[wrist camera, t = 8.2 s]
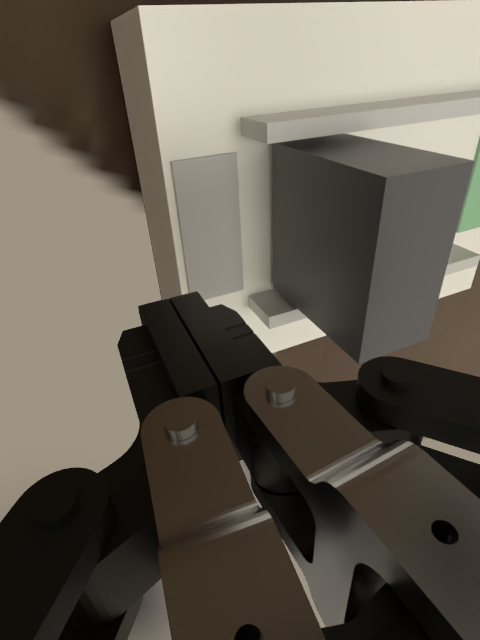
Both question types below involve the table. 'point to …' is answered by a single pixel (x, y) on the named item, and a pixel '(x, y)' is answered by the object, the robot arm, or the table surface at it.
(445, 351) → the table surface
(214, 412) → the robot arm
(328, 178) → the block
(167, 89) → the block
